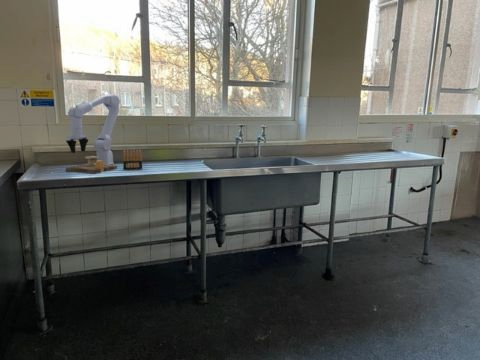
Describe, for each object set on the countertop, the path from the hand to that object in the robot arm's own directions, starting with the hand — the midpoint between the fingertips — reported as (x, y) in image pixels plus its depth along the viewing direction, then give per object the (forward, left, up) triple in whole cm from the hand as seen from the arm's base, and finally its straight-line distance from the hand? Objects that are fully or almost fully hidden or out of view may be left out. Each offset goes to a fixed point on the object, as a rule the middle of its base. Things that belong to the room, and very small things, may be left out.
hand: (78, 152), depth 208 cm
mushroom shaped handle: (-1, +8, -7) cm, 11 cm away
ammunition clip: (-10, +30, -10) cm, 33 cm away
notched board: (+2, +11, -9) cm, 15 cm away
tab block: (+4, +18, -9) cm, 21 cm away
